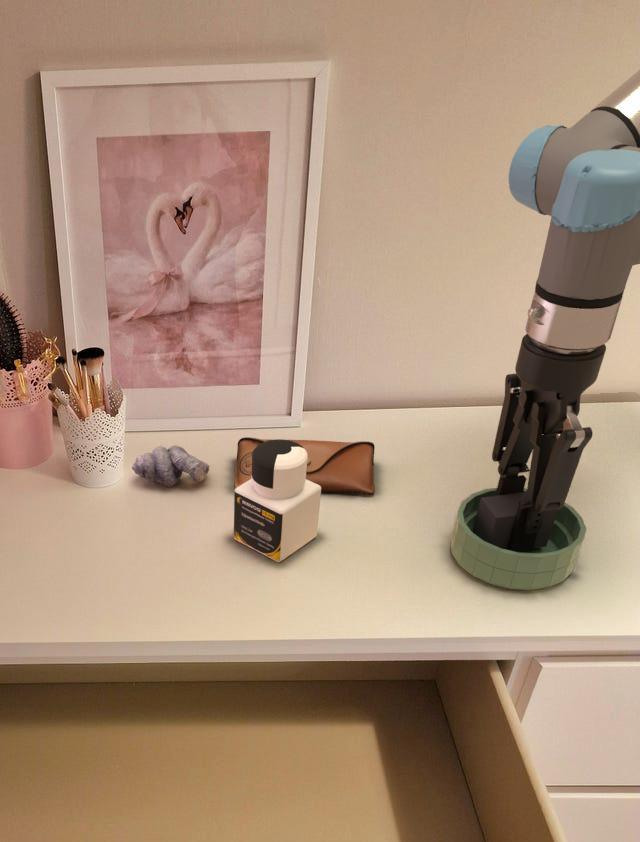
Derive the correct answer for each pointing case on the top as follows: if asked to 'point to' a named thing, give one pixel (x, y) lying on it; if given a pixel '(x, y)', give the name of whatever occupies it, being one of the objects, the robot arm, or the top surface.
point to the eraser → (506, 520)
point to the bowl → (513, 566)
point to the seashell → (169, 466)
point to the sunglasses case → (322, 464)
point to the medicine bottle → (277, 501)
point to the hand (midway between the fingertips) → (509, 538)
